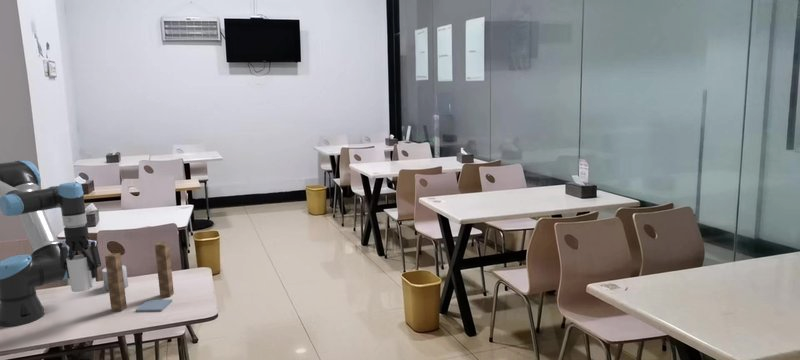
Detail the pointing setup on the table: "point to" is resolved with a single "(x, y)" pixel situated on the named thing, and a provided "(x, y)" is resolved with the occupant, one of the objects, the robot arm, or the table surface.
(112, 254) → the corner post
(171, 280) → the far post
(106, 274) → the toilet tissue
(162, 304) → the mat
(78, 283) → the mug
